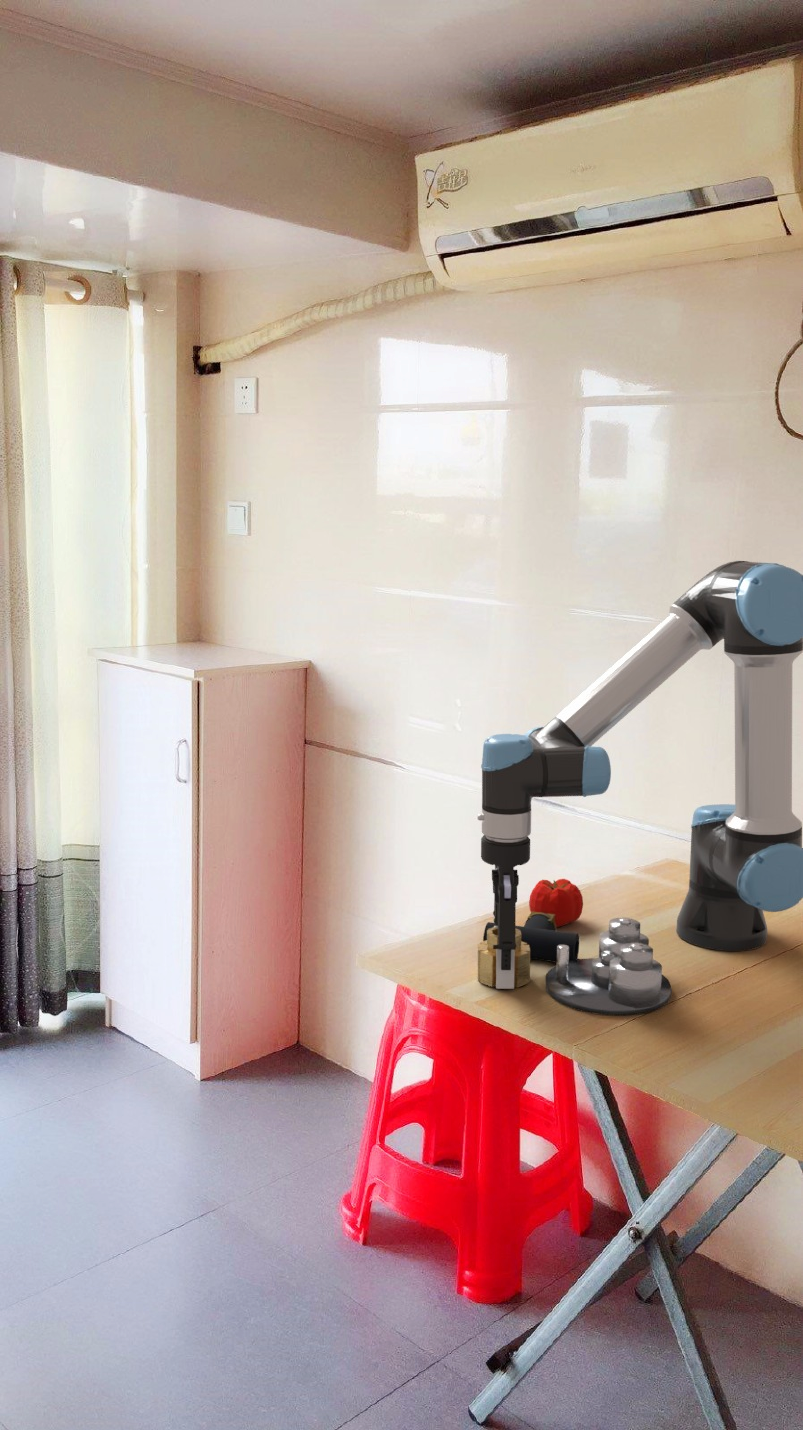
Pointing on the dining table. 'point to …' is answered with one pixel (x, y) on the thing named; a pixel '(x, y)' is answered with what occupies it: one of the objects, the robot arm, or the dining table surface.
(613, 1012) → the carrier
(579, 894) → the tomato
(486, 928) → the pipe connector
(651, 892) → the dining table surface
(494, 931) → the brass stepped collar
